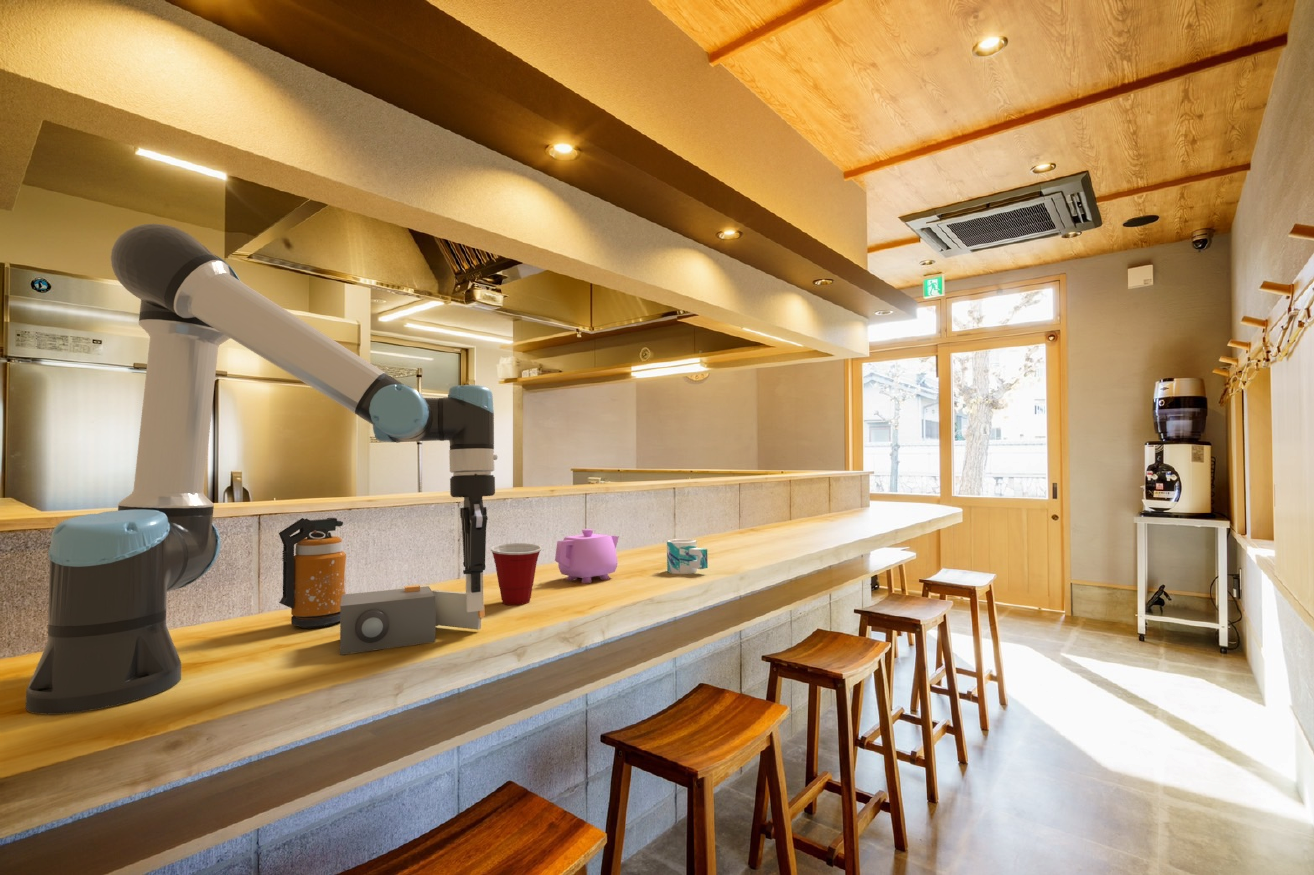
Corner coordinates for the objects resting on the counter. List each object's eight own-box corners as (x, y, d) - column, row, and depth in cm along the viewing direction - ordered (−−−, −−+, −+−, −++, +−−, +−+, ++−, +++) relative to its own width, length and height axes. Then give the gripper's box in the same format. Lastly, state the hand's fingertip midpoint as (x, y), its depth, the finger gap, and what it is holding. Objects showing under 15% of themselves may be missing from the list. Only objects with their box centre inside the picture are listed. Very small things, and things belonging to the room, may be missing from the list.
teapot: (573, 587, 145) (572, 534, 146) (542, 581, 154) (542, 531, 154) (634, 576, 159) (633, 527, 160) (602, 571, 168) (602, 524, 169)
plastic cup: (504, 610, 122) (504, 550, 123) (482, 602, 131) (481, 546, 131) (552, 602, 129) (551, 545, 130) (527, 595, 138) (527, 541, 138)
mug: (682, 568, 171) (682, 537, 171) (714, 572, 162) (714, 541, 162) (661, 571, 165) (660, 540, 165) (693, 577, 156) (692, 544, 157)
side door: (479, 631, 106) (478, 595, 106) (430, 625, 110) (430, 591, 111) (484, 629, 107) (484, 593, 108) (436, 623, 112) (436, 589, 112)
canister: (353, 622, 115) (353, 516, 116) (287, 635, 107) (288, 520, 108) (335, 615, 121) (336, 514, 122) (271, 626, 113) (273, 518, 114)
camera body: (339, 658, 93) (340, 603, 94) (341, 639, 104) (341, 589, 104) (437, 644, 99) (437, 593, 100) (429, 628, 110) (429, 581, 110)
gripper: (501, 472, 103) (504, 614, 101) (487, 474, 114) (490, 601, 113) (455, 474, 100) (457, 620, 98) (445, 475, 111) (447, 606, 110)
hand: (474, 610), depth 106 cm, fingers closed
